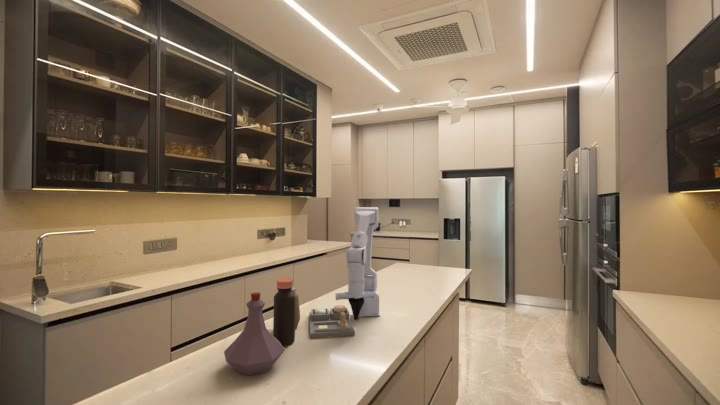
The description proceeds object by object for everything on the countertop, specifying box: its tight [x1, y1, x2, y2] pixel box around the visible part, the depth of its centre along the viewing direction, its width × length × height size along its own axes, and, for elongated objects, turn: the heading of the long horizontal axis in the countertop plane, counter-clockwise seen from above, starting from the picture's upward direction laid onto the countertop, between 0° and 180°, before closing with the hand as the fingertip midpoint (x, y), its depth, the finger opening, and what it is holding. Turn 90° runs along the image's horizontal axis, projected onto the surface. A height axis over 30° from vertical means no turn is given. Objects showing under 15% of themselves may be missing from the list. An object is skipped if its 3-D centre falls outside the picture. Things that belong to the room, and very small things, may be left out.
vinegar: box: [272, 278, 296, 347], centre depth 106 cm, size 7×7×20 cm
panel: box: [308, 307, 356, 339], centre depth 121 cm, size 15×22×4 cm
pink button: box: [333, 305, 346, 314], centre depth 127 cm, size 4×4×2 cm
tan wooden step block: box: [338, 312, 348, 327], centre depth 116 cm, size 3×5×4 cm, turn 10°
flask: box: [223, 292, 286, 376], centre depth 90 cm, size 16×16×20 cm
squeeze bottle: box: [287, 277, 301, 330], centre depth 118 cm, size 8×8×18 cm
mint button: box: [314, 308, 326, 315], centre depth 125 cm, size 4×4×2 cm
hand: (355, 319), depth 117 cm, fingers closed
